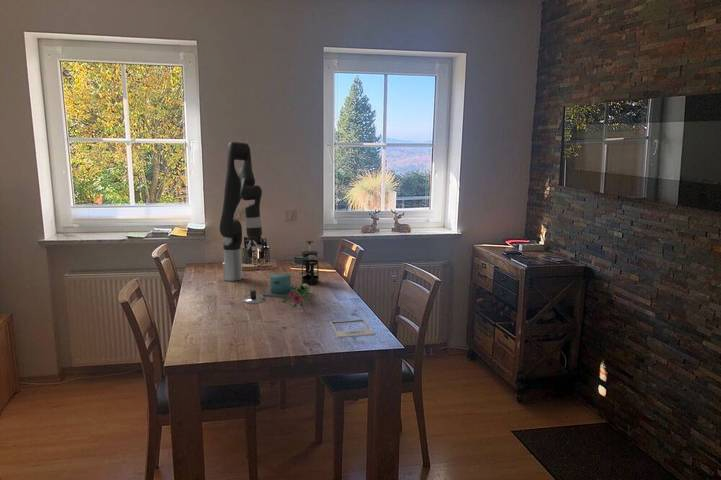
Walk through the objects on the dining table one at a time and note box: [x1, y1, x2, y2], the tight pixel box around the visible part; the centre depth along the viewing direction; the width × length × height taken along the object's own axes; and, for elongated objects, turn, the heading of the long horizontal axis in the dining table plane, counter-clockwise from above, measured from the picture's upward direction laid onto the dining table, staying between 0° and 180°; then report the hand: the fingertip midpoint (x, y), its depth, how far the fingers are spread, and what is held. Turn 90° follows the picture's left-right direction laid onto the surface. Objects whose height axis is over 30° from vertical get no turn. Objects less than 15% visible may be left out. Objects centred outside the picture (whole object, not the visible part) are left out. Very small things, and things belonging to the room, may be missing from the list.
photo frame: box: [329, 318, 375, 339], centre depth 222 cm, size 15×1×18 cm
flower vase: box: [281, 283, 313, 309], centre depth 257 cm, size 12×12×35 cm
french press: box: [300, 240, 320, 286], centre depth 291 cm, size 12×9×23 cm
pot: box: [262, 273, 297, 299], centre depth 273 cm, size 14×14×9 cm
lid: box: [241, 289, 266, 305], centre depth 262 cm, size 11×11×5 cm
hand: (256, 258), depth 272 cm, fingers open, 8 cm apart
